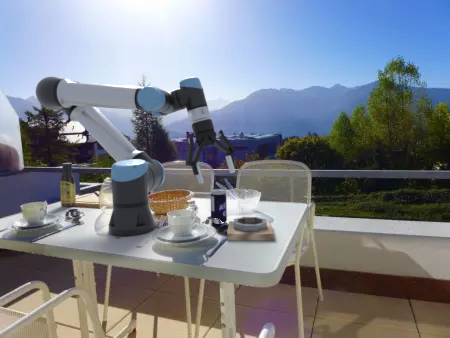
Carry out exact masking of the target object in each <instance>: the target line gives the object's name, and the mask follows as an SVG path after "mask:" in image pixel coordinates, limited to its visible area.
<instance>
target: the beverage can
mask: <svg viewBox="0 0 450 338" xmlns="http://www.w3.org/2000/svg"><path fill="white" fill-rule="evenodd" d="M227 205H228V204H227V192H226V189H225V188H223V189H222V188H214V189H211V191H210V219H211V218H218V219H220V220H221V221H222V222H224V224H225V223H226V222H227V221H228V211H227V208H228V207H227Z"/></svg>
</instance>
